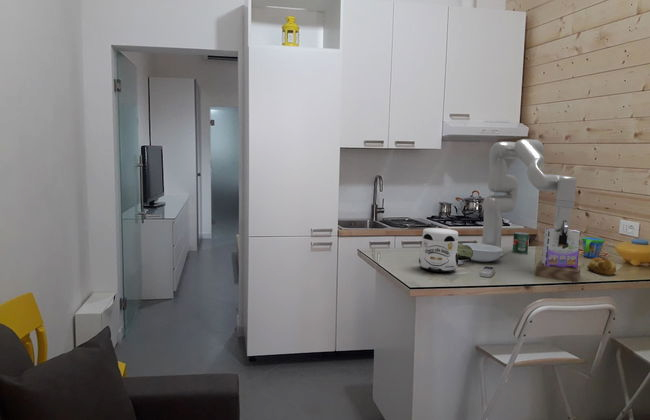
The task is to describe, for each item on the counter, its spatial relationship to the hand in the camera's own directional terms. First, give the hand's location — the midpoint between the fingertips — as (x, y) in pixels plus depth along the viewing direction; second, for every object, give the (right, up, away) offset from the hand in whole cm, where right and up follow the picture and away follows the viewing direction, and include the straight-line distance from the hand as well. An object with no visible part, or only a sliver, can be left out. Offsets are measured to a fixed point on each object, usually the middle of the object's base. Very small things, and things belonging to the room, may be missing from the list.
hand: (560, 242), depth 228 cm
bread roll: (+24, -15, +11) cm, 31 cm away
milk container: (-54, -13, +2) cm, 56 cm away
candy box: (0, -11, +1) cm, 11 cm away
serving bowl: (-27, -11, +28) cm, 41 cm away
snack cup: (+39, -11, +49) cm, 64 cm away
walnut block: (-1, -16, +1) cm, 16 cm away
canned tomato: (+2, -9, +52) cm, 53 cm away
